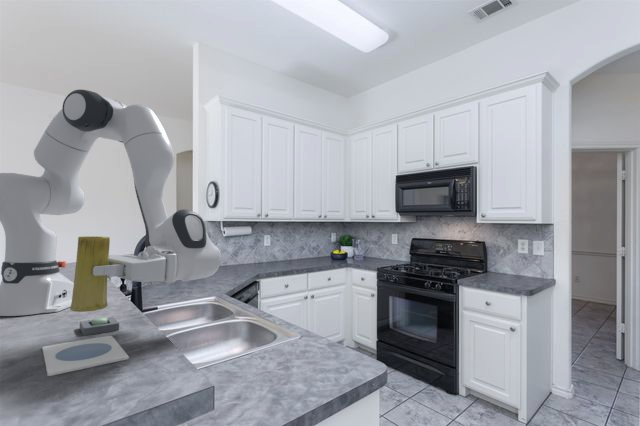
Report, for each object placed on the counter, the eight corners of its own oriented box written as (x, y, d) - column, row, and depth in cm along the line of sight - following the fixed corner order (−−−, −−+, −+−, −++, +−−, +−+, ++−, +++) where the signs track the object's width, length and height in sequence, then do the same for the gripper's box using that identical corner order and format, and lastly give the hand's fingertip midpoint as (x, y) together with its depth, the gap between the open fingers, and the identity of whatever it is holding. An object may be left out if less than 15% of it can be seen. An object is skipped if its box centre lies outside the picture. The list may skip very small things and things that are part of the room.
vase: (110, 303, 68) (115, 236, 69) (103, 310, 63) (108, 237, 63) (76, 305, 66) (81, 236, 67) (65, 312, 60) (70, 237, 61)
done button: (90, 324, 79) (90, 318, 79) (105, 322, 81) (106, 316, 81) (92, 327, 77) (93, 321, 77) (108, 325, 79) (108, 319, 79)
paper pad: (42, 348, 65) (42, 346, 65) (111, 337, 74) (111, 334, 74) (47, 376, 54) (47, 373, 54) (128, 359, 62) (129, 356, 62)
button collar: (79, 328, 79) (79, 321, 79) (112, 323, 84) (113, 317, 84) (83, 335, 74) (84, 328, 74) (118, 329, 79) (119, 323, 79)
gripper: (137, 248, 81) (70, 250, 71) (179, 254, 69) (106, 257, 58) (135, 273, 81) (68, 279, 70) (178, 283, 69) (104, 292, 58)
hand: (86, 269), depth 64 cm, fingers closed on vase, 5 cm apart
